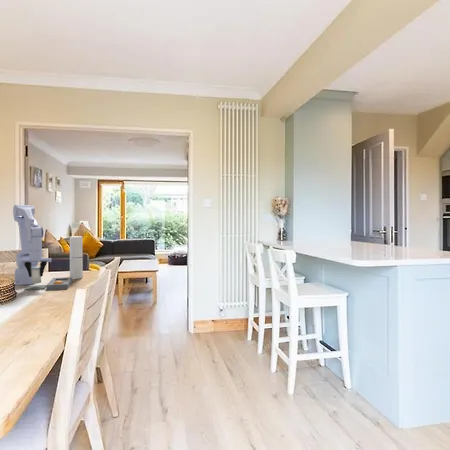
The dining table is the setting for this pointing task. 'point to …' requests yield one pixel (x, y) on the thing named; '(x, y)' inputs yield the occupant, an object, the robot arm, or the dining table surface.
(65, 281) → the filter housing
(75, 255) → the cylindrical container
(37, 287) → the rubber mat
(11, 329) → the dining table surface
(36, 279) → the cylinder
